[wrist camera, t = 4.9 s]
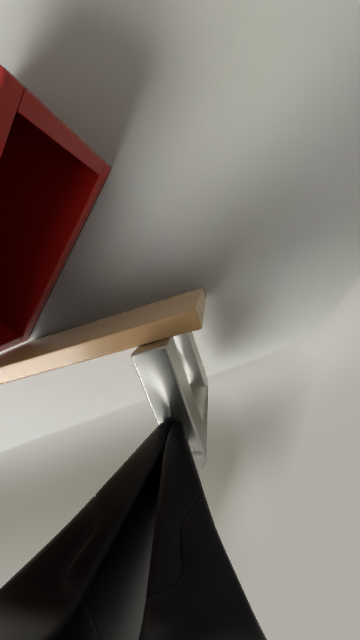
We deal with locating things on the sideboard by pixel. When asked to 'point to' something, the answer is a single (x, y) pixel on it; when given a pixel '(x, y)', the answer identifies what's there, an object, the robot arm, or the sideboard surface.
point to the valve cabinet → (38, 204)
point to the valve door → (137, 358)
